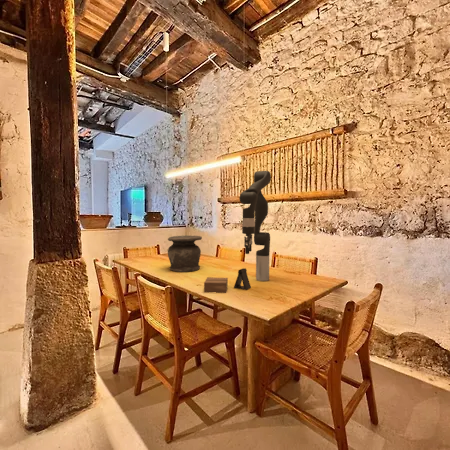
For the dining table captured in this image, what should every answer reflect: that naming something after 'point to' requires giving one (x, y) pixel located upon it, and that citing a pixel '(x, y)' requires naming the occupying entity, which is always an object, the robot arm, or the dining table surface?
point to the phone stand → (242, 280)
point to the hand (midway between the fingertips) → (248, 252)
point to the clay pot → (184, 253)
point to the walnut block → (216, 285)
